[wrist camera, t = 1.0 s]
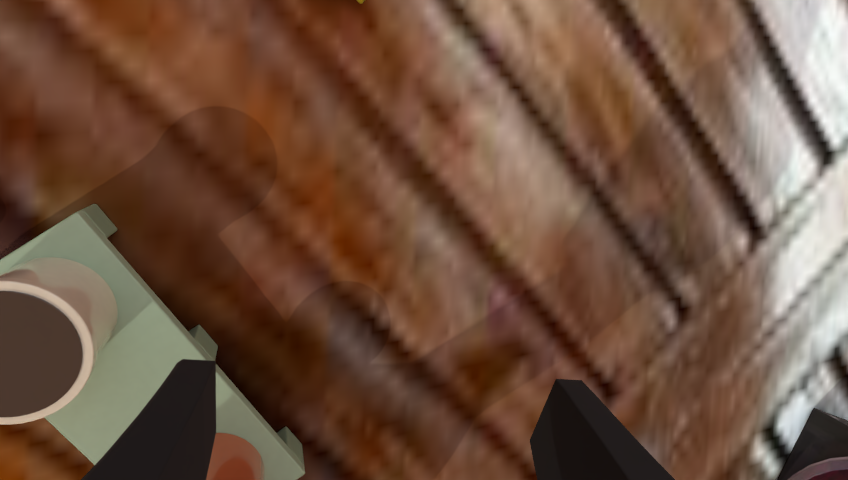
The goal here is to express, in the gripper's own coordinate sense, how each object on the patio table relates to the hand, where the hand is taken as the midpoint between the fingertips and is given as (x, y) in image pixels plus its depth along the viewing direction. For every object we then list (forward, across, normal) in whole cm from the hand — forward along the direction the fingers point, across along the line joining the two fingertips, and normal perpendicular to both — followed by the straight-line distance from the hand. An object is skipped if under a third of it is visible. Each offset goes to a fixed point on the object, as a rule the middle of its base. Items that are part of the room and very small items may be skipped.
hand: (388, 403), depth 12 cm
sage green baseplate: (+14, +10, +14) cm, 22 cm away
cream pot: (+12, +13, +9) cm, 20 cm away
